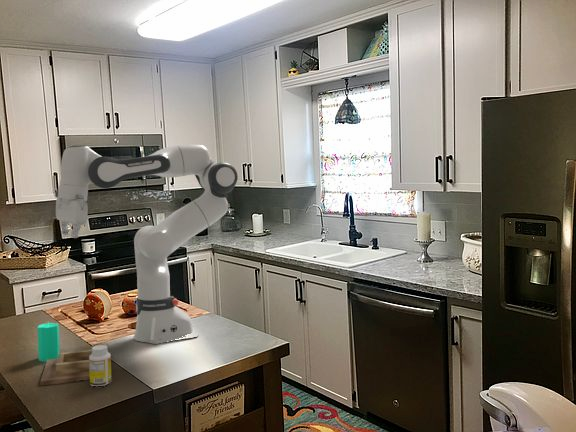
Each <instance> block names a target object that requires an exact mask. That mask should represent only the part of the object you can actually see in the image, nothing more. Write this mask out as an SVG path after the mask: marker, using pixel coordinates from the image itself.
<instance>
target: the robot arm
mask: <svg viewBox="0 0 576 432" xmlns="http://www.w3.org/2000/svg"><path fill="white" fill-rule="evenodd" d="M60 163H61V164H60V175H61V178H60V181H59V184H58V189H56V191H55V194H54V197H55V199H56V200H55V218H56V220H58V221H60V227H61V232H60V233H61V235H63V236H64V235H65V236H67V235H69V232H70V231H69V223H70V224H72V231H71V232H70V238H73V239H78V238H79V232H80V231H81V227H82V226H83V225H87V222H88V213H89V210H88V202H87V201H88V196H89V195H88V193H89V185H90V184H93V185H95V186H96V187H98V188H102V189H109V188H113V187H116V186H117V185H118V184H120V183H121V182H123V181H125V180H128V179H133V178H139V177H140V178H141V177H144V176H145V177H146V176H158V177H161V178H179V177H185V176H190V175H191V176H193V175H194V176H195V178H196V180H197V182H198V184H199V187H201V188H202V189H203V190H204V191H203V193H202V194H201V195H200V196H199V197H197V198H195V199H194V200H192V201H190V202H188V203H186V204H185V205H184V206H182V207H180V208H179V209H177V210H175V211H173V212H172V213H171V214H169V216H167V217H166V218H164V219H163V220H162V221H160V222H159V223H158V224H156V225H145V226H143V227H140V228H139V229H138V230H137V232H136V233H135V235H134V237H133V245H134V247H133V248H134V258H135V267H136V277H137V278H136V279H137V280H136V282H137V283H136V286H137V297H136V299H135V300H136V301H135V308H136V309H135V311H136V312H135V313H136V314H137V317H136V325H135V330H134V334H133V340H135V341H138V342H141V343H148V344H149V343H150V344H153V345H159V344H158V343H161V344H164V343H163V342H167V341H171V340H175V339H179V338H183V337H186V336H185V335H187V334H191V333H192V332H193V326H194V325H193V322H192V318H191V317H190V315H189V314H188V313H187V312H185V311H184V310H182V309H181V308H179V307H178V306H177V305H178V304H179V300H178V298H176V297H174V296H173V295H171V289H170V288H171V285H170V281H171V280H170V279H171V278H170V276H171V275H170V270H169V265H168V257H169V256H171V255H172V254H173V253H174V252H175V251H176V250H177V249H179V248H180V247H181V246H183V245H184V244H185V243H186V242H187V241H188V240H190V239H191V238H193V237H195V236H196V235H198V234H200V233H201V232H203V231H204V230H206V229H207V228H209V227H210V226H212V225H214V224H215V223H216V222H218V221H219V220H220V219H221V218H223V217H224V216H225V215H226V213H227V212H228V211H229V202H228V200H227V198H228V197H229V196H230V194H231V193H232V191H233V189H235V186H236V185H237V182H238V172H237V169H236V168H235V167H234V166H233V165H232V164H230V163H228V162H225V161H220V162H216V161H215V162H214V161H213V160H212V158H211V153H210V151H209V149H208V148H207V147H206V146H204V144H203V145H202V144H197V143H196V144H193V143H192V144H189V143H188V144H178V145H172V146H168V147H165V148H160V149H159V150H157V151H154V152H153V153H151V154H150V155H146V156H139V157H133V158H125V159H119V158H116V157H111V156H104V155H103V156H102V155H100V154H98V153H97V152H95V151H94V150H93V149H92V148H91V147H90V146H88V145H72V146H68V147H66V149H64V150H63V153H62V158H61V162H60ZM182 336H183V337H182ZM167 343H168V342H167Z"/></svg>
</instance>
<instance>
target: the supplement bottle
mask: <svg viewBox="0 0 576 432" xmlns="http://www.w3.org/2000/svg"><path fill="white" fill-rule="evenodd" d="M91 350H92V354H91V355H90V356H89V371H90V380H89V384H90V386H91V387H93V386H103V385H106V384H108V383H110V382H111V383H112V357H111V352H109V351H108V345H107V344H106V345H105V344H99V345H94V346H93V347H91ZM111 383H110V384H111Z"/></svg>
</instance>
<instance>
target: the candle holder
mask: <svg viewBox="0 0 576 432" xmlns="http://www.w3.org/2000/svg"><path fill="white" fill-rule="evenodd" d="M91 354H92V349H86V350H74V351H66V352H65V351H64V352H60V353H59V355H58V359H49V360H47V362H45V363H46V364H45V366H44V369H43V372H42V374H41V379H40V383H39V384H40V387H41V386H49V385H57V384H67V383H74V382H73V381H76V382H80V381H79V380H84V381H86V380H85V379H90V371H89V356H90V355H91Z"/></svg>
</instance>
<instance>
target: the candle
mask: <svg viewBox="0 0 576 432" xmlns="http://www.w3.org/2000/svg"><path fill="white" fill-rule="evenodd" d="M37 348H38V349H37V351H38V355H37V356H38V361H40V362H45V363H46V362H47V360H49V359H58V355H59V353H61V352H60V326H59V323H52V322H45V323H42V324H39V325H38V326H37Z"/></svg>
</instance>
